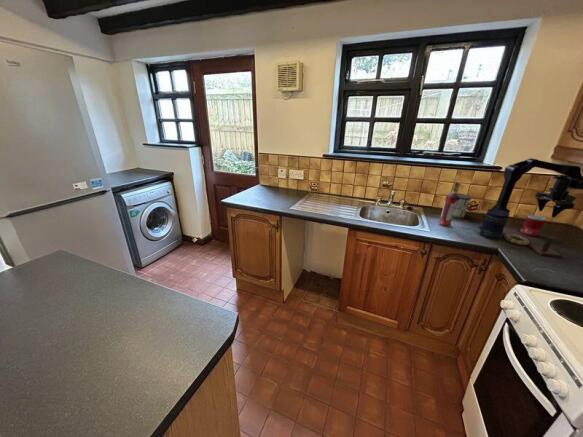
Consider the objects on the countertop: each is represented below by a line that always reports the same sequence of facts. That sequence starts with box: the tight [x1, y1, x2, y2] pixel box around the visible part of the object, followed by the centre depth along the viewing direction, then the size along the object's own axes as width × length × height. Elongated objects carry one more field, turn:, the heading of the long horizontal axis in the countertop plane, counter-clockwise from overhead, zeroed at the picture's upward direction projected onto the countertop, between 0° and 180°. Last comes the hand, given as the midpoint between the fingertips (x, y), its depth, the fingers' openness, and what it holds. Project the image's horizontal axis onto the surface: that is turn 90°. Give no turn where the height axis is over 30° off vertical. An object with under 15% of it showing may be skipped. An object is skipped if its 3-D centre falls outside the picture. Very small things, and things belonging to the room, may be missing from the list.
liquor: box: [438, 181, 461, 227], centre depth 148 cm, size 7×7×28 cm
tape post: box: [527, 236, 562, 258], centre depth 125 cm, size 9×9×8 cm
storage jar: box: [479, 208, 510, 241], centre depth 138 cm, size 10×10×15 cm
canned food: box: [520, 214, 547, 237], centre depth 144 cm, size 8×8×11 cm
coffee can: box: [453, 192, 472, 218], centre depth 167 cm, size 10×10×14 cm
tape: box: [503, 233, 530, 246], centre depth 136 cm, size 11×11×2 cm
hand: (546, 214), depth 138 cm, fingers open, 9 cm apart
